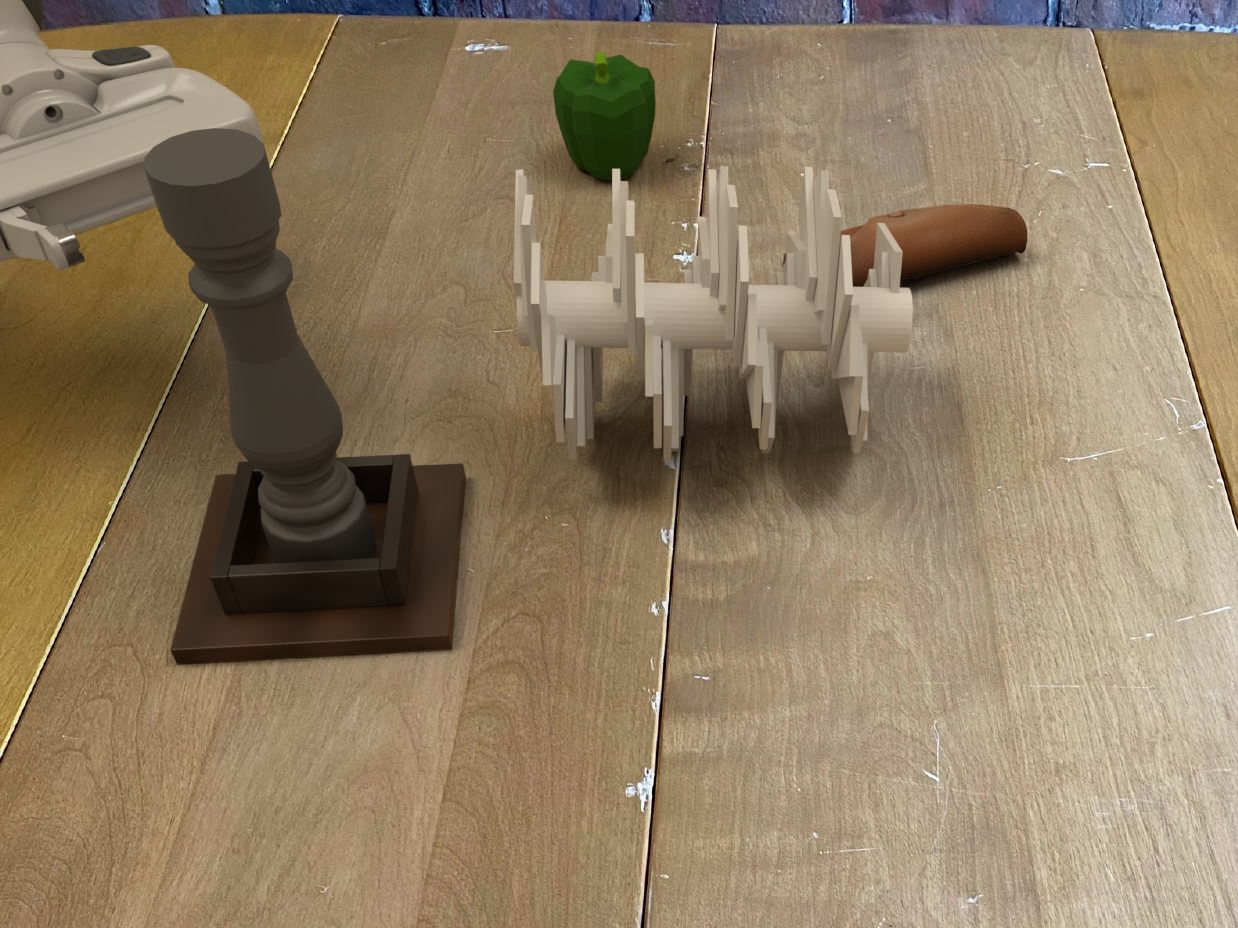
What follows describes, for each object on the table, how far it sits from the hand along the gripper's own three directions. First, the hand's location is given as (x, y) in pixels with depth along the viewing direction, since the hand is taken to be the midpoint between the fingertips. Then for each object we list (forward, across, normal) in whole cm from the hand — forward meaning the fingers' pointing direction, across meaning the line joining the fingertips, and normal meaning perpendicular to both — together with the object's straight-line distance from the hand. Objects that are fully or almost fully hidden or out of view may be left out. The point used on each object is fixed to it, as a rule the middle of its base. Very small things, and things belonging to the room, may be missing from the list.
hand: (149, 225), depth 79 cm
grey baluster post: (+12, 0, +17) cm, 20 cm away
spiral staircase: (+17, +28, +18) cm, 37 cm away
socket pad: (+12, 0, +18) cm, 21 cm away
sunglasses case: (+10, +52, +18) cm, 56 cm away
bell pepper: (-17, +44, +18) cm, 50 cm away
